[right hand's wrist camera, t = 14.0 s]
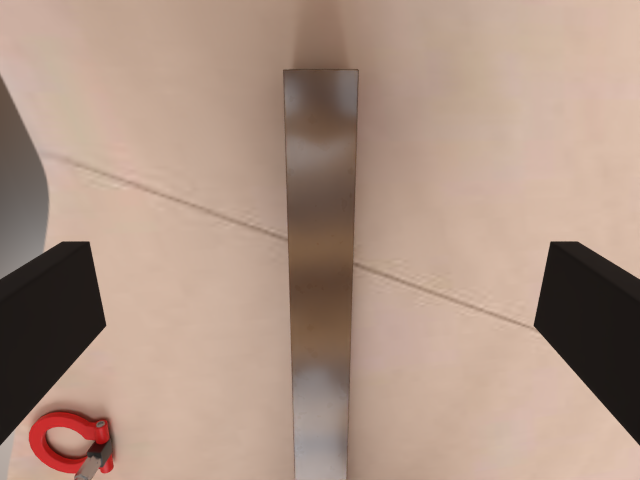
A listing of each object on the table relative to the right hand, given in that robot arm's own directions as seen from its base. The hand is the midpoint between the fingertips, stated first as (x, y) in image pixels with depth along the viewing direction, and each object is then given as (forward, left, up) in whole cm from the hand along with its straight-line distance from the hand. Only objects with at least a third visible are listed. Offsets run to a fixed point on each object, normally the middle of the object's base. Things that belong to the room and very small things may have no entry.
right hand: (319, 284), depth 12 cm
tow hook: (+38, -21, -27) cm, 51 cm away
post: (+18, +4, -27) cm, 33 cm away
